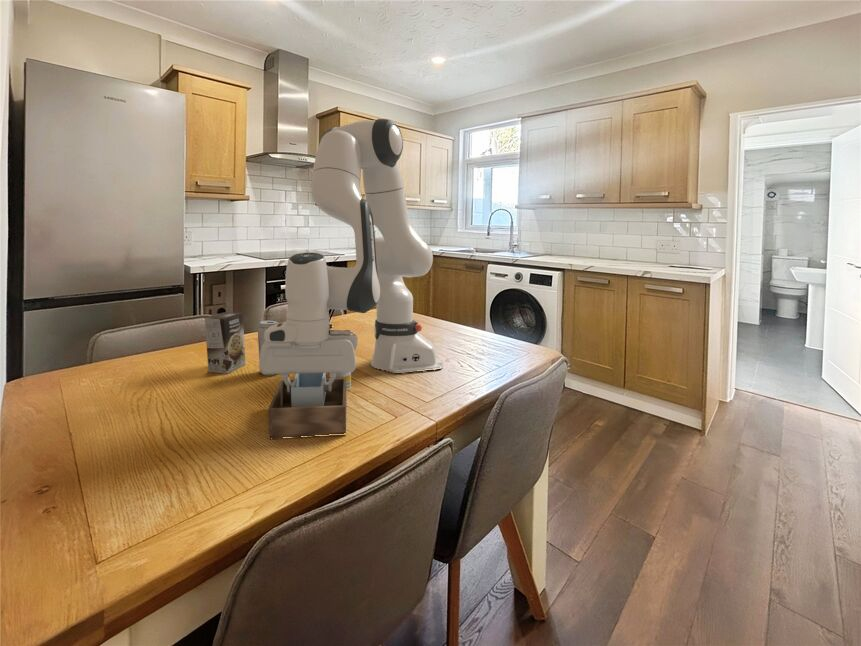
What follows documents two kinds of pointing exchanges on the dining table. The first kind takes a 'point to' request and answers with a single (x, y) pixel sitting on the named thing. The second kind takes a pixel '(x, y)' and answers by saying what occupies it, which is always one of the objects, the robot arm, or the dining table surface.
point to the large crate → (308, 413)
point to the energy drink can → (261, 331)
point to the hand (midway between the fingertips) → (309, 391)
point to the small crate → (308, 390)
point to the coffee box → (225, 342)
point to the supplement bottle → (348, 378)
